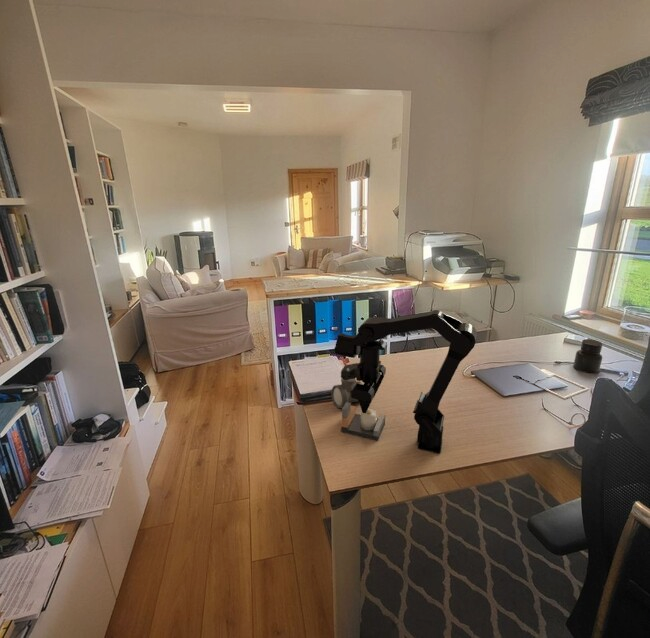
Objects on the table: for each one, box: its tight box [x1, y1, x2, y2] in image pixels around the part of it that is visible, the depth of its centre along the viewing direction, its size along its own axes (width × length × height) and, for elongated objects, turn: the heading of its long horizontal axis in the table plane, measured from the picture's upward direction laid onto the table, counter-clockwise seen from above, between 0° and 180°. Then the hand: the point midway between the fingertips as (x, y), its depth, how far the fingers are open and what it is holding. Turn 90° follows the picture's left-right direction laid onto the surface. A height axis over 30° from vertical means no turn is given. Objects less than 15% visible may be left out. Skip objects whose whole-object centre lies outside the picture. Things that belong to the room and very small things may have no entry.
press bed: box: [340, 413, 386, 442], centre depth 113 cm, size 12×9×4 cm
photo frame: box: [540, 368, 590, 400], centre depth 137 cm, size 15×1×18 cm
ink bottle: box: [573, 338, 603, 374], centre depth 146 cm, size 10×9×12 cm
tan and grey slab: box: [341, 402, 356, 428], centre depth 114 cm, size 2×8×6 cm, turn 157°
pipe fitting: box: [331, 377, 363, 409], centre depth 126 cm, size 12×8×10 cm
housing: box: [360, 408, 378, 430], centre depth 111 cm, size 5×5×5 cm
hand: (368, 404), depth 110 cm, fingers open, 9 cm apart
